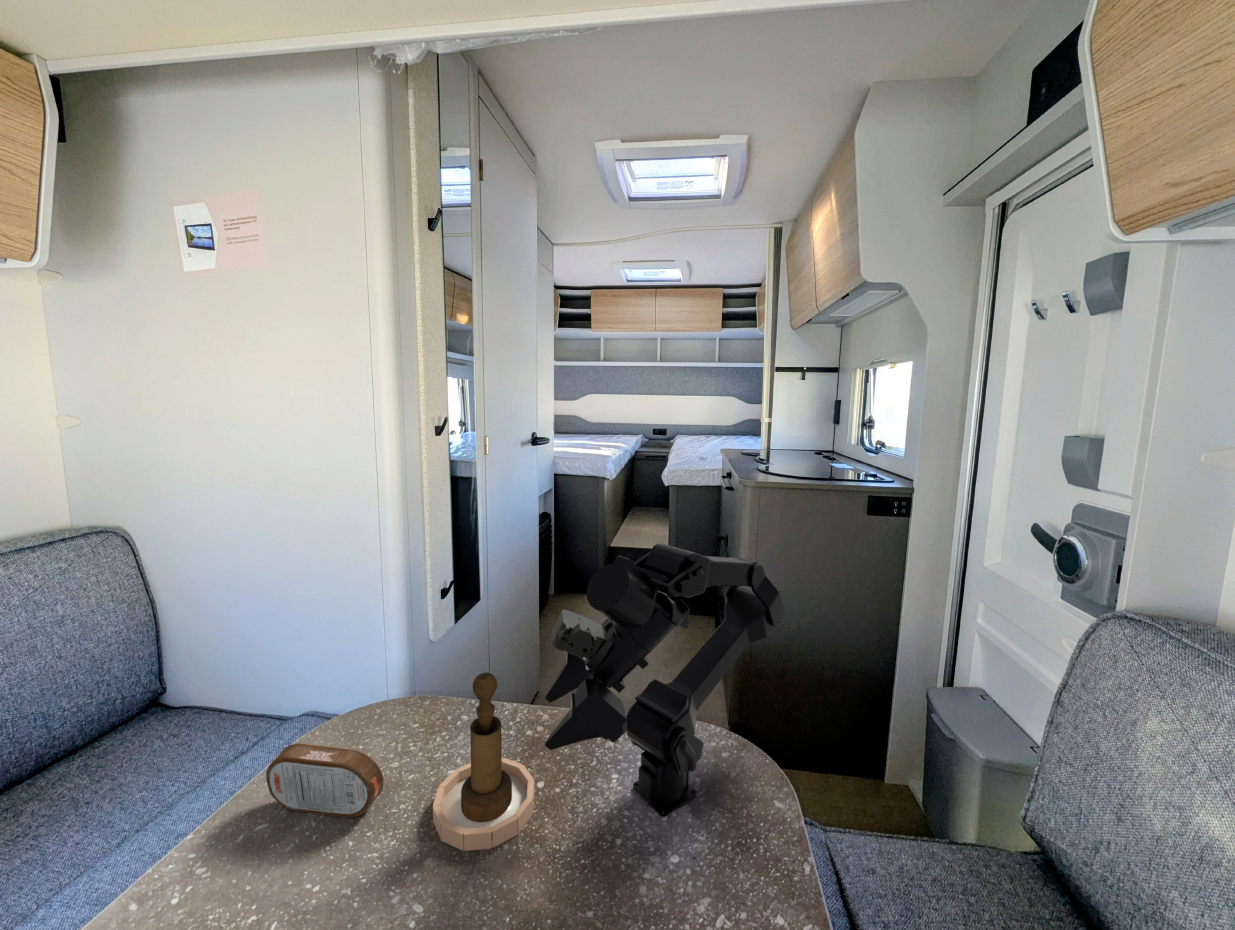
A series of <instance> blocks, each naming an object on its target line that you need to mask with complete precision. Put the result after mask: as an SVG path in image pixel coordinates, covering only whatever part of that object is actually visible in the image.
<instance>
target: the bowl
mask: <svg viewBox="0 0 1235 930" xmlns="http://www.w3.org/2000/svg"><path fill="white" fill-rule="evenodd" d="M502 770H503V771H505V772H506V773H507V774H508V775H509V776H510V778H511V781H512V800H511V804H510V806H509V807H508V809H507V810H506V811H505V812H504V813H503V814H502V815H501V816H499V817H498V818H496V819H494V820H491V821H488V822H474V821H471V820H469V819H468V818H466V817H465V816H464V814H463V812H462V809H461V789H462V786H463V784H464V782H465V781H466V779H467V778H468V777H469V776H471V762H469V763H467V764H465V765H463V766H460V767H457V768H456V769H455V770H454V771H452V773H450V774H449V776H448V777H446V778H445V779H444V780H443V781H442V782H441V783H440V785H438V788H437V791H436V794H435V797H434V800H433V804H432V819H433V820H432V823H433V825H434V828H435V829H436V832H437V834H438V836H439V839H440V841H441V842H442V843H445V844H448V845H449V846H450V847H451V846H452V847H454V848H456V849H459V850H460V851H462V852H463V851H464V852H468V851H478V850H479V851H481V850H490V849H491V850H492V848H493V849H494V848H496V847H498V846H499V845H502V844H503V843H505V842H506V841H509V840H510V839H512V838H514V837H515V836H517V835H519V834H520V833H521V831H522V829H523V828H524V827H525V826H526V824H527V823H528V821H529V820H530V819H531V818H532V816H533V815H534V814H533V813H534V806H535V802H534V801H535V778H534V777H533V776H532V774H531V773H530V771H528V769H527V768H526V766H525V765H524V764H523V763H520V762H517V761H516V760H512V759H509V758H506V757H502Z"/></svg>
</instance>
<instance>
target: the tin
mask: <svg viewBox="0 0 1235 930" xmlns="http://www.w3.org/2000/svg"><path fill="white" fill-rule="evenodd" d="M265 778H266V783H267V787H268V791H269V793H270V796H272V798H273V799H274V800H275V801H276V802H277V803H278V804H280V805H281V806H283V807H284V808H286V809H288V810H292V811H296V812H303V813H309V814H310V813H311V814H317V815H324V816H325V815H326V816H333V817H341V818H354V817H355V818H356V817H359V816H362V814H365V813H366V812H367V811H368V810H369V809H370V808H371V806H372V805H373V804H374V802H375V800H376V799H378V797H379V796H380V795H381V793H382V792H383V789H384V784H385V782H384V780H385V779H384V774H383V772H382V769H381V767H380V766H379V764H378V763H377V761H376V760H375V759H374V758H372V757H371V756H370V755H368V754H367V753H365V752H363V751H360V750H359V749H354V748H346V747H345V748H344V747H338V746H337V747H336V746H328V745H318V744H311V743H303V742H302V743H301V742H298V743H292V744H289V745H288V746H286V747H284V748H283V749H282V751H280V753H279V754H278V756H276V757H275V759H273V760H272V762H271V763H270V764H269V765H268V767H267V769H266V777H265Z"/></svg>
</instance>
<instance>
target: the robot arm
mask: <svg viewBox="0 0 1235 930" xmlns="http://www.w3.org/2000/svg"><path fill="white" fill-rule="evenodd" d="M586 587H587V588H586V600H587V602H588V604H589V606H590V607H591V608H592V609H594V610H595V611H597V612H598V613H600V614H602V615H603V616H605V617H607V618H606V619H605V620H604V621H602V623H599V622H596V621H595V620H592V619H591V618H589V617H586V616H584V615H581V614H579V613H575V612H573V611H571V610H568V609H561V611H560V614H559V616H558V618H557V620H556V622H555V624H554V627H553V628H552V631H551V635H552V637H551V639H552V640H551V645H552V647H553V648H555V649H556V650H558V651H560V652H564V651H566V658H565V661H564V662H563V664H562V666H561V667H560V670H559V672H558V673H557V675H556V676H555V678H554V680H553V682H552V684H551V685H550V687H549V689H547V691H546V694H545V695H544V698H545V700H546V701H547V702H548V703H553V702H555V701H557V700H559V699H561V698H562V697H564V696H566V695H568V694H569V693H570V709H569V711H568V712H566V714H565V715H564V716H563V718H562V719H561V721H560V722H559V723H558V724H557V726H556V727H555V728H554V730H553V731H552V732H551V733H550V734H549V735H548V737H547V739H546V740H545V741H544V746H545V747H546V748H547V749H548V750H550V751H553V750H556V749H560V748H563V747H566V746H570V745H574V744H576V743H580V742H583V741H589V740H593V739H599V738H601V739H603V740H605V741H607V740H608V741H610V742H611V743H616V742H617V741H618V740H619V739H620V738H621V737H622V736H623V735H624V734H625V733H626V735H627V737H628V739H629V740H630V741H631V744H632V745H634V746H637V747H638V748H639V749H641V750H642V752H641V754H640V765H639V767H638V780H637V781H635V782H634V783H632V788H633V790H634V791H635V792H636V793H637V794H638V795H639V796H640V797H641V798H642V800H644V802H646V803H647V805H648V806H650V808H652V809H653V810H654V811H655V812H656V813H657V814H658V815H659V816H660V817H661V818H666V817H667V816H668V815H670V814H672V813H673V812H676V810H678V809H679V808H681V807H682V806H684V805H686V804H687V803H689V802H690V801H692V800H693V799H695V798H697V794H698V792H697V790H696V789H695V788H694V787H693V786H691V785H690V784H689V782H690V772H695V770H696V769H697V762H698V761H700V760H701V758H702V754H703V748H704V742H703V741H702V740H701V739H699V738H698V737H697V736H696V735H695V734H696V728H697V727H696V725H697V713H698V710H699V709H700V707H701V706H702V704H703V703H704V702H705V701H706V700H707V698H708V696H710V694H711V693H712V691H714V689H715V688H716V686H717V685H718V684H719V682H721V680H722V679H723V678H724V676H726V674H727V672H728V671H729V670H730V669H731V667H732V666H733V664H734V663H735V662H736V661H737V659H738V658H740V656H741V654H742V653H743V651H744V650H745V649H746V648H747V646H748V645H750V644H752V643H756V642H759V641H760V642H761V641H763V640H766V639H767V638H768V637H769V636H770V635H771V634H772V633H774V631H775V630H776V629H777V628H778V627H780V626H781V624H782V622H783V619H784V615H785V609H784V605H783V604H784V603H783V601H782V597H781V594H780V592H779V590H778V588H777V587H775V585H774V583H772V581H770V579H769V578H768V577H767V576H766V574H765V569H764V567H763V565H762V564H760V563H759V562H758V561H754V560H751V559H748V558H747V559H746V558H743V557H740V556H731V557H725V556H711V555H708V556H707V555H702V554H700V553H697V552H694V551H690V550H687V549H683V548H680V547H676V546H672V545H668V544H665V543H662V542H661V543H656V544H654V545H653V546H652V549H651V550H650V551H648V552H647V553H645V554H643V555H642V556H641V557H640V558H639V559H637V560H635V561H634V560H632V559H631V558H628V557H626V556H623V555H619V554H618V555H617V556H616V557H615V559H614V561H613V563H609V564H606V565H604V566H602V567H601V568H600V569H599V570H597V571H596V573H594V574H592V575H591V577H590V579H589V581H588V584H587V585H586ZM709 587H725V588H724V590H723V592H722V593H723V597H724V600H725V603H724V620H723V621H722V623H720V624H719V625H718V627H717V628H716V629H715V630H714V631H713V633H712V634H711V635H710V636H709V637H708V639H707V640H706V641H705V642H704V643H703V645H701V646H700V648H699V649H698V650H697V651H696V653H695V654H694V655H693V656H692V657H691V659H689V660H688V662H687V663H686V665H684V666H683V668H682V669H681V670H680V671H679V672H678V673H677V675H676V676H675V677H674V678H673V679H672V680H671V681H670V682H668V683H664V682H662V681H660V680H659V679H656V678H655V679H653V680H651V681H649V683H648V684H647V686H646V687H645V689H644V690H643V691H642V692H641V693H640V694H639V695H637V696H635V697H634V700H635V702H634V703H633V704H632V705H630V707H629V708H628V710H627V712H626V710H625V707H624V706H625V705H624V701H623V700H621V698H620V697H618V696H617V695H616V694H615V692H612V691H611V690H610V689H611V688H613V689H614V690H615V691H616V692H617V693H618V694H620V693H621V692H622V691H623V690H624V689H625V688H626V685H625V682H624V679H626V677H628V676H629V674H631V673H632V671H634V670H635V669H636V667H640V668H641V669H642V670H644V669H645V668H647V666H648V665H650V664H649V660H648V658H647V656H649V655H650V654H651V653H652V652H653V651H654V650H655V649H656V648H657V647H658V646H659V645H660V644H661V643H662V642H663V641H664V640H665V639H666V638H668V636H669V635H670V634H671V633H672V632H673V631H674V630H675V629H676V628H677V627H678V626H679V627H681V628H682V629H683V630H687V629H689V625H690V619H689V615H690V611H691V610H690V608H689V607H688V606H687V605H686V604H685V603H686V602H684V601H683V600H682V599H681V598H680V599H671V598H670V597H668V596H667V595H669V596H671V597H674V598H678V597H683V598H687V599H688V598H692V597H695V596H698V595H701V594H704V593H705V591H706V588H709ZM573 691H575V693H574V692H573Z"/></svg>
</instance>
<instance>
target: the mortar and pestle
mask: <svg viewBox="0 0 1235 930" xmlns="http://www.w3.org/2000/svg"><path fill="white" fill-rule="evenodd" d="M497 688H498V680H497V678H496V677H495V675H494V674H492V673H490V672H481V673H480V674H478V675H476V677H475V678H474V680H473V682H472V692H473V694H474V695H475V696H476V698H477V699H478V701H479V703H478V706H477V707H476V709H475V710H476V716H477V718H475V719H474V720H473V721H472V722H471V723H470V727H469V728H470V729H469V731H470V733H469V734H470V763H471V776H469V777H468V778H467V779H466V781H465V782H464V784H463V786H462V789H461V809H462V812H463V814H464V816H465V817H466V818H468V819H469V820H471V821H474V822H488V821H491V820H494V819H496V818H498V817H499V816H501V815H502V814H503V813H504V812H505V811H506V810H507V809H508V807H509V806H510V804H511V800H512V781H511V778H510V776H509V775H508V774H507V773H506V772H505V771H503V770H502V756H503V755H502V750H503V749H502V721H501V719H500V718H499V717H497V716H494V714H495V710H496V709H495V704H494V703H492V699H493V697H494V695H495V693H496V690H497Z"/></svg>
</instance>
